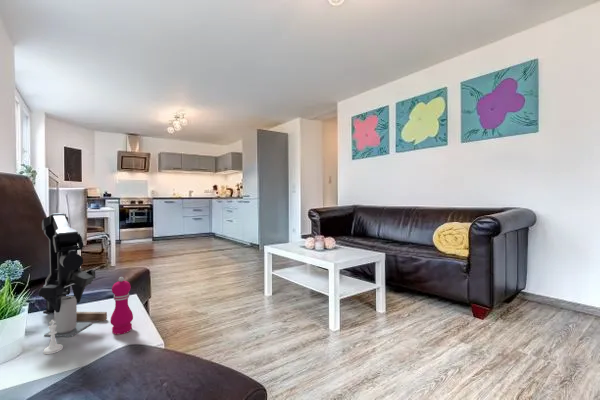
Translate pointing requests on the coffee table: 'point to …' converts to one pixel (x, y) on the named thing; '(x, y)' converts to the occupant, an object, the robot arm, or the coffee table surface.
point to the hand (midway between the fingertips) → (68, 307)
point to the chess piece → (52, 340)
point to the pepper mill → (121, 308)
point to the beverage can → (66, 315)
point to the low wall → (91, 316)
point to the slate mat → (78, 328)
